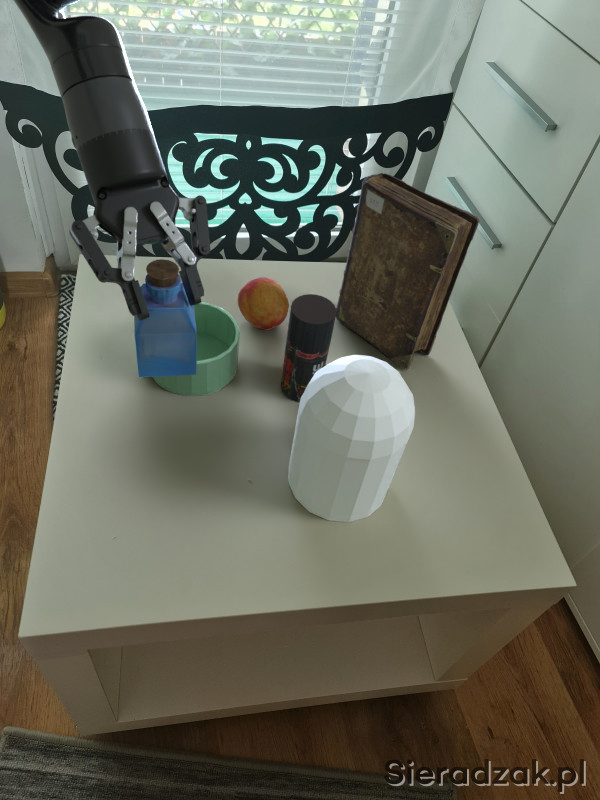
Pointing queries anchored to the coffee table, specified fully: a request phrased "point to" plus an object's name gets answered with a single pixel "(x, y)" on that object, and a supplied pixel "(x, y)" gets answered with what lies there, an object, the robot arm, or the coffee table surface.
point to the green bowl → (209, 354)
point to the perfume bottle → (165, 325)
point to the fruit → (263, 303)
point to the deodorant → (306, 342)
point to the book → (402, 266)
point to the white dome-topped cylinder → (349, 437)
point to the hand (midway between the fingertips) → (170, 310)
